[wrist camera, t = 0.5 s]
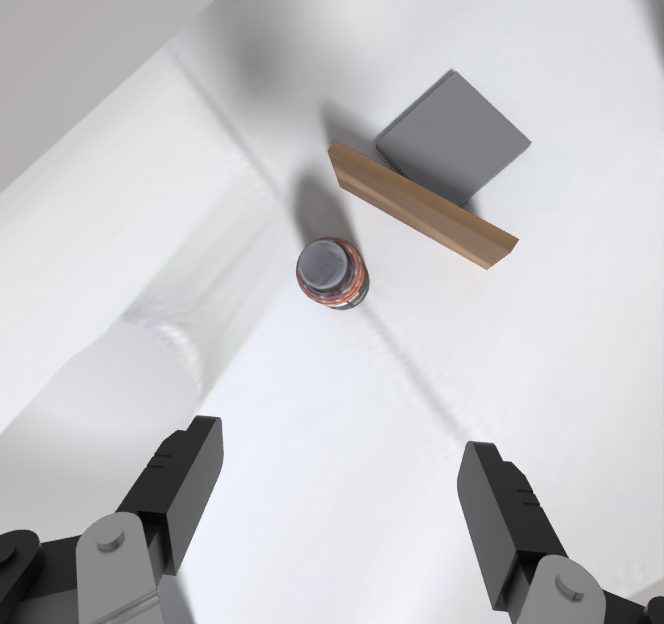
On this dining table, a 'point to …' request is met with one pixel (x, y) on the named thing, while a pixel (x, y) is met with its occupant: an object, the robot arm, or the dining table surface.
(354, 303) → the supplement bottle
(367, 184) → the walnut screen
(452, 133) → the charcoal pad
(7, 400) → the dining table surface
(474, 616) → the dining table surface
